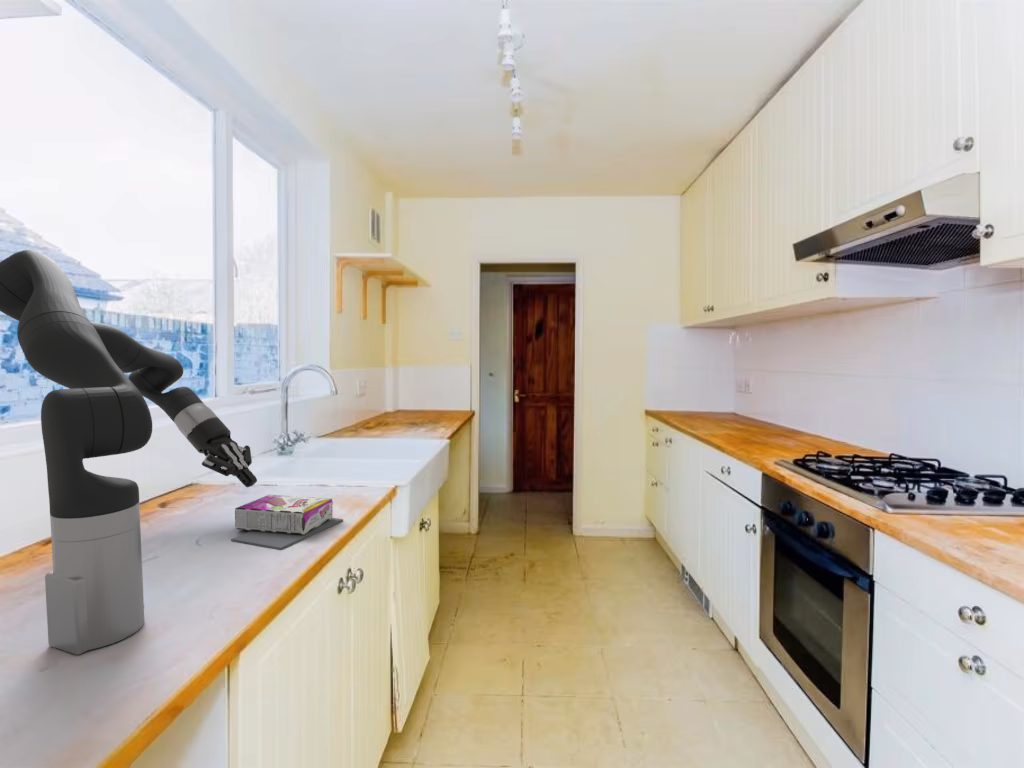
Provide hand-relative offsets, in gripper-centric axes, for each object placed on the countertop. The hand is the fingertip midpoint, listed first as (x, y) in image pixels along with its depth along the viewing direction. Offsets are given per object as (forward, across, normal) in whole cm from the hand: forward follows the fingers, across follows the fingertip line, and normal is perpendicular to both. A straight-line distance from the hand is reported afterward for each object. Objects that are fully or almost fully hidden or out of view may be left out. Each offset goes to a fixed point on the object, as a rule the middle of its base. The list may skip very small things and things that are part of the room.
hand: (252, 484), depth 112 cm
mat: (+14, +2, +1) cm, 14 cm away
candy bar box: (+4, 0, -4) cm, 6 cm away
